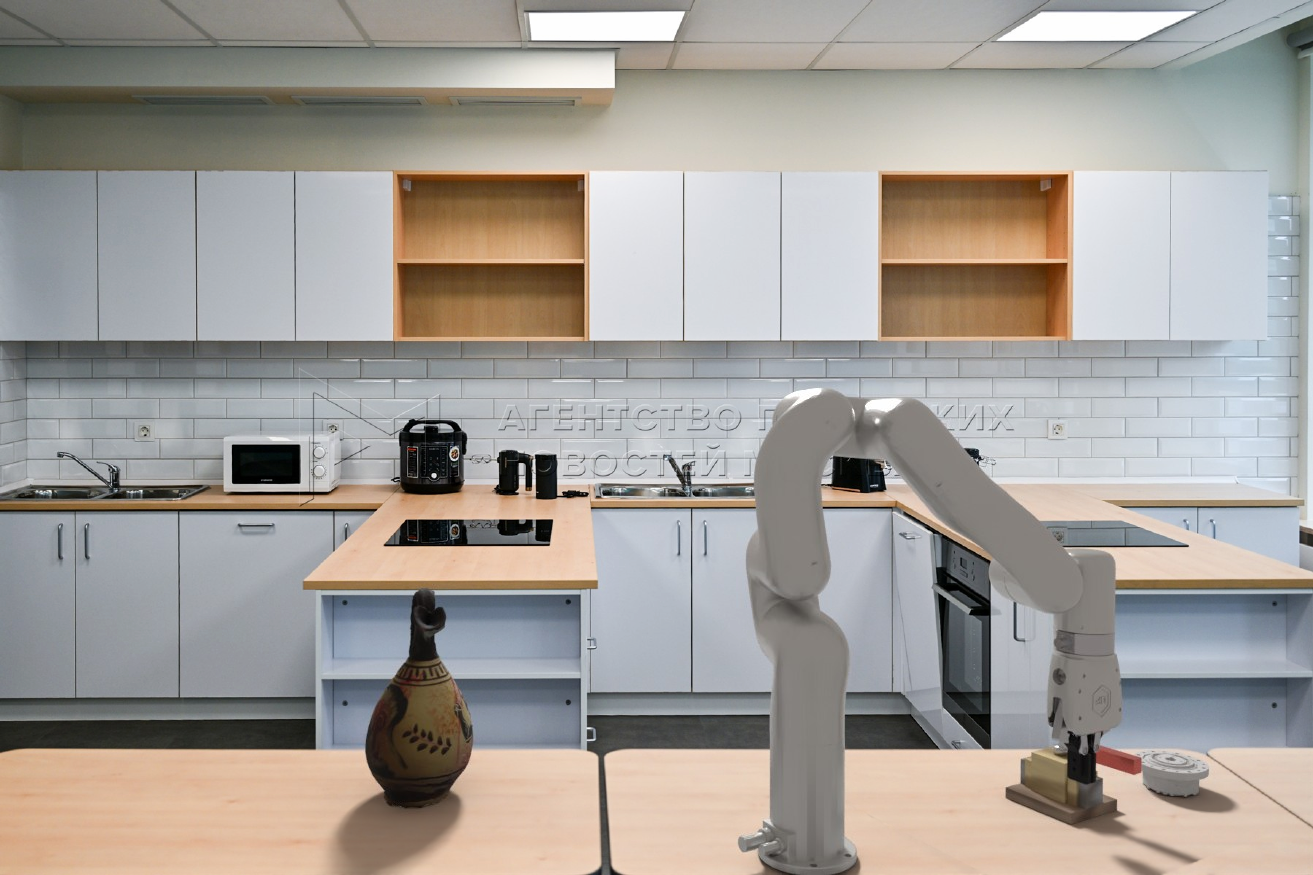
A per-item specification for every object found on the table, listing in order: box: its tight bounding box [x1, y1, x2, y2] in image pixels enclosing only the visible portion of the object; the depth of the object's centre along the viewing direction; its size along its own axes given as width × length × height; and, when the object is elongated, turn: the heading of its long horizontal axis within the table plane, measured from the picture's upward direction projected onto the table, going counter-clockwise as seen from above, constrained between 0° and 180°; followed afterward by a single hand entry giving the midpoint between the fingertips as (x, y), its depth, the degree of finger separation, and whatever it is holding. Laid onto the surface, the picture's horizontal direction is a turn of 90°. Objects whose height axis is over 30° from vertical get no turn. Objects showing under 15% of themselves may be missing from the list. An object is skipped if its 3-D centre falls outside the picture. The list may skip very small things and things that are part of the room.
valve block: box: [1005, 746, 1118, 825], centre depth 139 cm, size 10×11×7 cm
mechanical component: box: [1133, 749, 1210, 798], centre depth 145 cm, size 10×4×10 cm
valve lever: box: [1052, 741, 1143, 776], centre depth 135 cm, size 12×2×2 cm, turn 33°
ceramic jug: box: [364, 587, 474, 809], centre depth 143 cm, size 17×15×30 cm
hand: (1081, 780), depth 129 cm, fingers closed
